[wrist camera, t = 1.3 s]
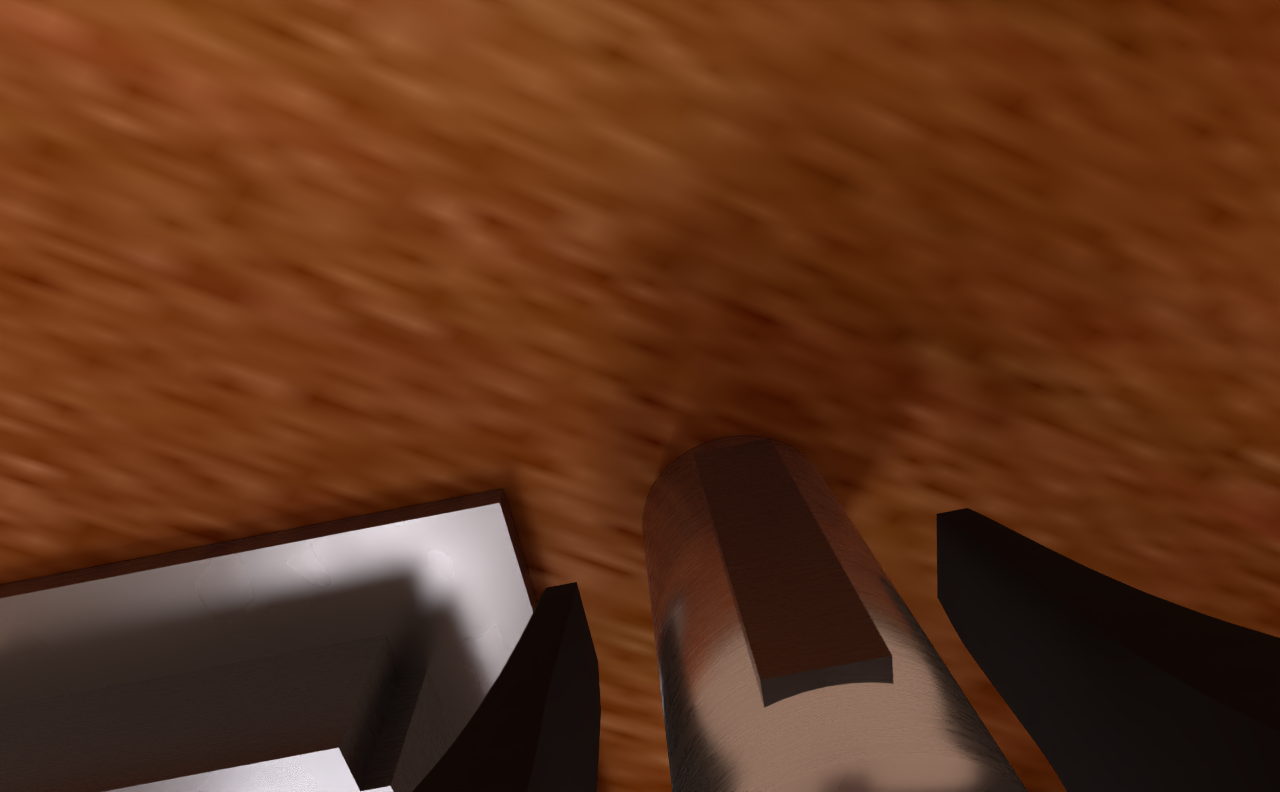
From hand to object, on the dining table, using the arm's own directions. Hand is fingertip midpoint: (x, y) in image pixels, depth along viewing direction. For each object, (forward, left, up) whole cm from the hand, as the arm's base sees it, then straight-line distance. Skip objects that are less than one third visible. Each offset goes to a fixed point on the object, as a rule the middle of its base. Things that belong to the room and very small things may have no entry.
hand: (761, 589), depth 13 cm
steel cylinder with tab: (0, 0, -2) cm, 2 cm away
